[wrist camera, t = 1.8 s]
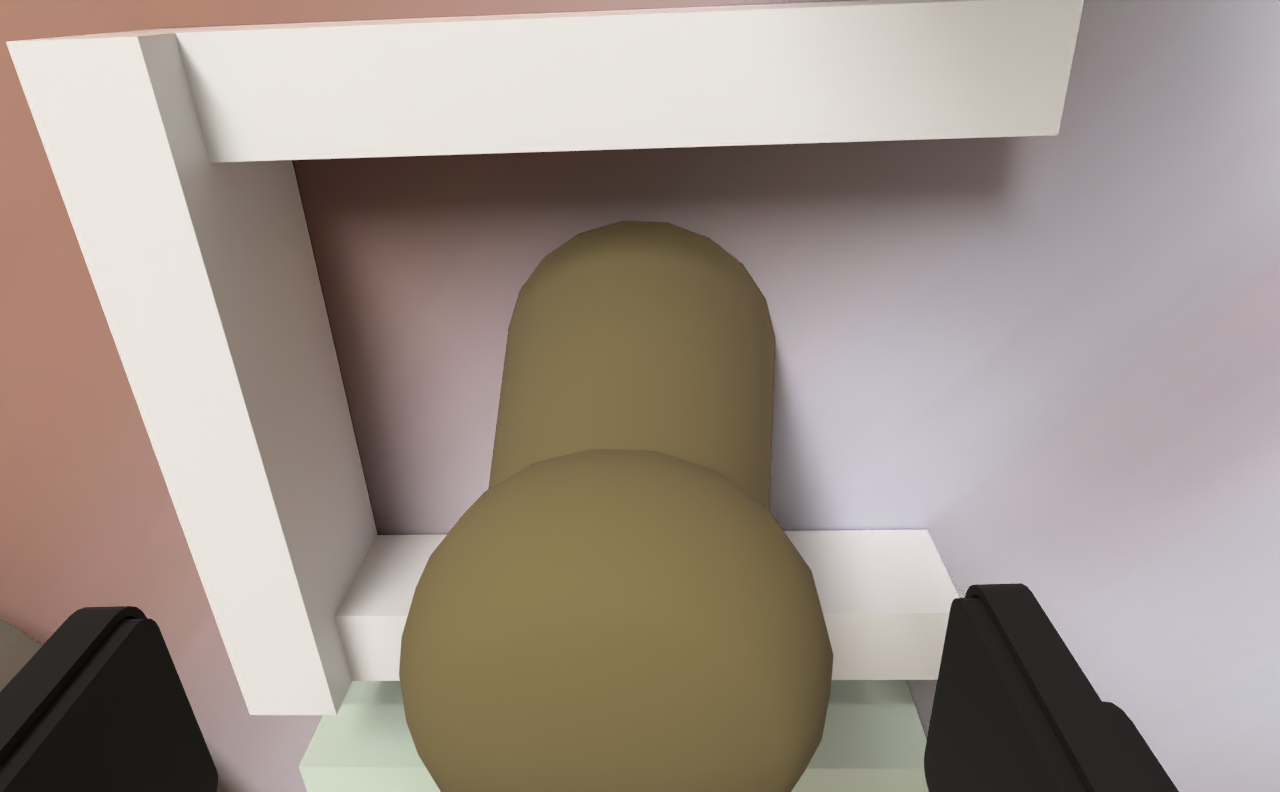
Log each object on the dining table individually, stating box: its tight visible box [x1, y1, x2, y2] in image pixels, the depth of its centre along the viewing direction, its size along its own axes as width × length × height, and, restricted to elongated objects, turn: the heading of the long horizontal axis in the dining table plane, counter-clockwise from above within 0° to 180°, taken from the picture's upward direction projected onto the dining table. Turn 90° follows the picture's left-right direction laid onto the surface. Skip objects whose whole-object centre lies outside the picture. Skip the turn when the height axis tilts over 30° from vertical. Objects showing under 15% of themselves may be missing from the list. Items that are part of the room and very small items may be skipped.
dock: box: [6, 0, 1084, 715], centre depth 16 cm, size 16×14×4 cm
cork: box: [399, 221, 834, 792], centre depth 13 cm, size 6×6×11 cm
